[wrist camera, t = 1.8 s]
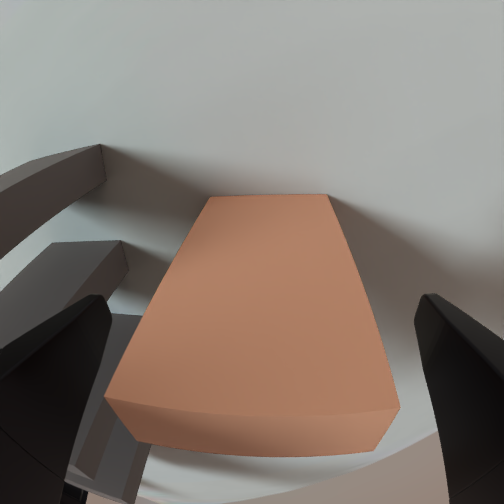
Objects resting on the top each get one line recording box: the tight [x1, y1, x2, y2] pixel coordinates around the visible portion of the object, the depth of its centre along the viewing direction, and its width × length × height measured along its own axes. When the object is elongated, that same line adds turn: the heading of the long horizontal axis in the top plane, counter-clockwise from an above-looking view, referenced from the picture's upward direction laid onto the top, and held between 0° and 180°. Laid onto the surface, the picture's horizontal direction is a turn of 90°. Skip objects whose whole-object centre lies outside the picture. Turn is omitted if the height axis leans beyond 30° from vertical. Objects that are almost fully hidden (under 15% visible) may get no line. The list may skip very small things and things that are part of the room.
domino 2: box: [0, 240, 129, 348], centre depth 11 cm, size 2×5×10 cm, turn 93°
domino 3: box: [67, 313, 143, 481], centre depth 13 cm, size 2×5×10 cm, turn 93°
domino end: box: [104, 194, 401, 457], centre depth 9 cm, size 2×5×10 cm, turn 93°
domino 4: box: [64, 417, 151, 504], centre depth 16 cm, size 2×5×10 cm, turn 93°
